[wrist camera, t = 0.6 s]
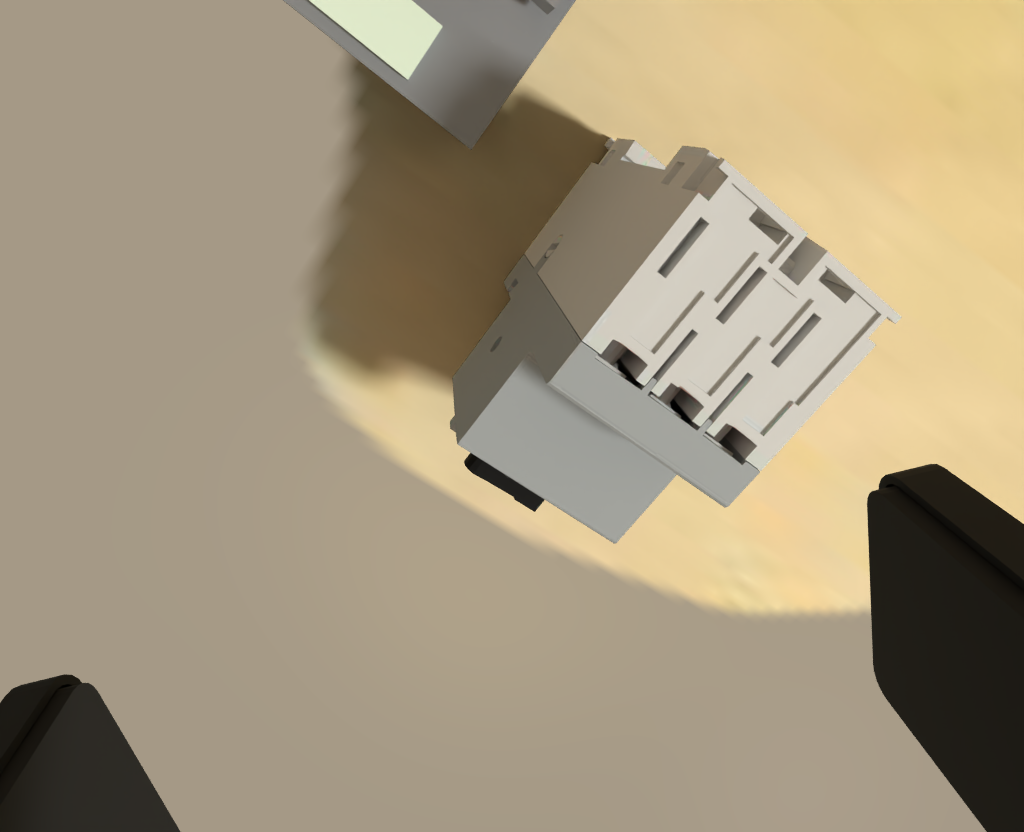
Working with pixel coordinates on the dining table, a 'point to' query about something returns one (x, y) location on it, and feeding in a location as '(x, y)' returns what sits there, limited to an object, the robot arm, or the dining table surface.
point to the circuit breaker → (657, 341)
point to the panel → (443, 49)
